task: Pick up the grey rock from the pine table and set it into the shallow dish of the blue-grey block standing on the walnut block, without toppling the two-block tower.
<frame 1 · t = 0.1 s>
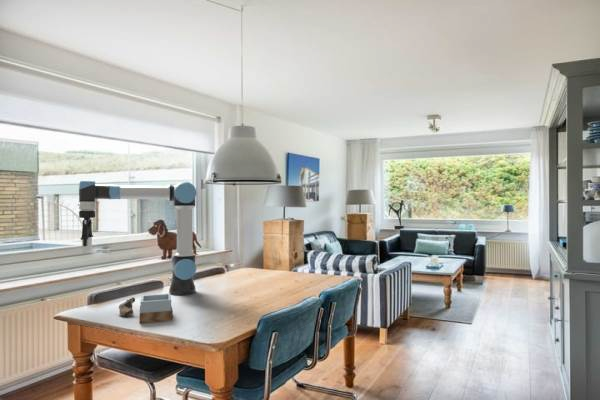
hand: (87, 251, 218), 28 cm above the table, fingers open, 13 cm apart
tower base: (155, 319, 193), on the table, touching tower top
tower top: (156, 308, 193), point 4 cm above the table, touching tower base
rock: (126, 315, 199), on the table
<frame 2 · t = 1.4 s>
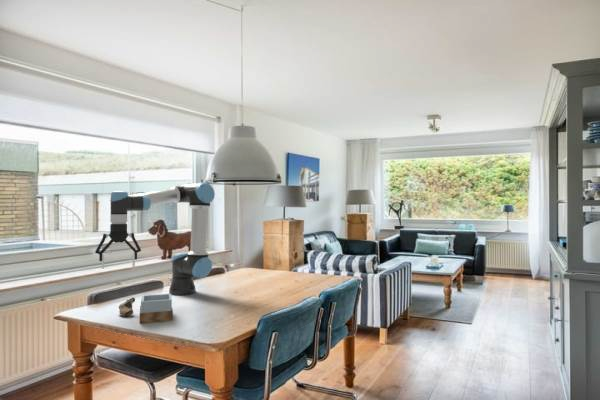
hand: (118, 267, 202), 22 cm above the table, fingers open, 13 cm apart
nothing on the table moved.
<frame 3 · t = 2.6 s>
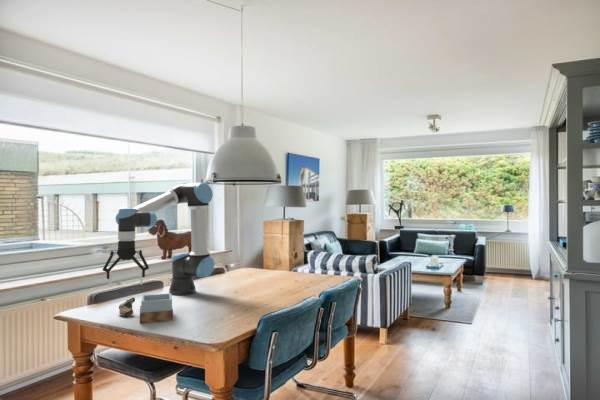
hand: (126, 285, 199), 14 cm above the table, fingers open, 13 cm apart
nothing on the table moved.
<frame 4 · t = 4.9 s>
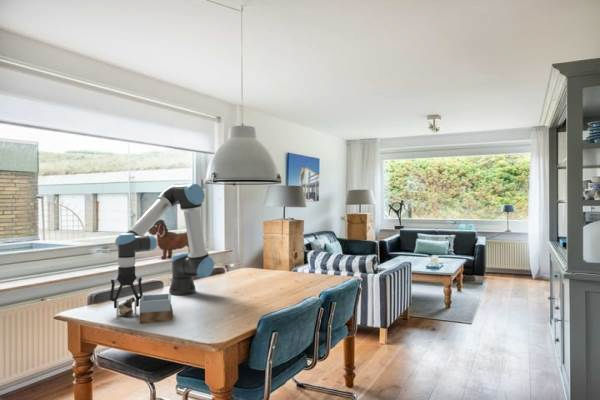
hand: (126, 314, 199), 0 cm above the table, fingers closed on rock, 7 cm apart
rock: (126, 315, 199), on the table, touching gripper
everything else where it was.
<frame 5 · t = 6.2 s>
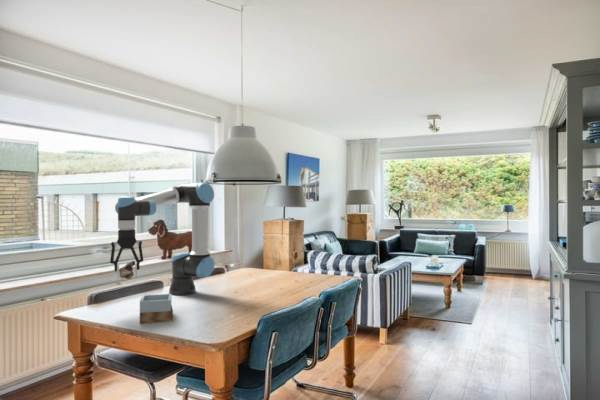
hand: (127, 277, 199), 18 cm above the table, fingers closed on rock, 7 cm apart
rock: (126, 278, 199), point 17 cm above the table, touching gripper
everything else where it was.
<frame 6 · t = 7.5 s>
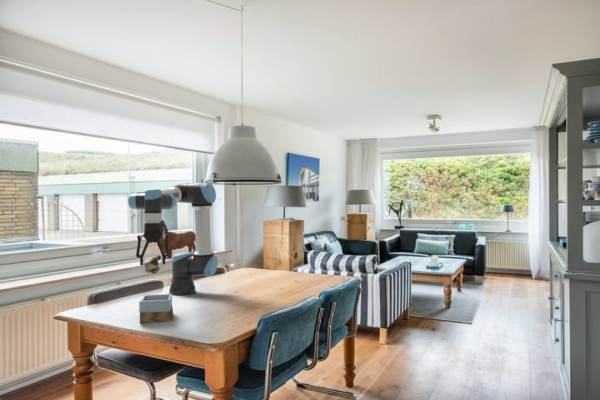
hand: (152, 271, 194), 21 cm above the table, fingers closed on rock, 7 cm apart
rock: (152, 273, 193), point 21 cm above the table, touching gripper
everything else where it was.
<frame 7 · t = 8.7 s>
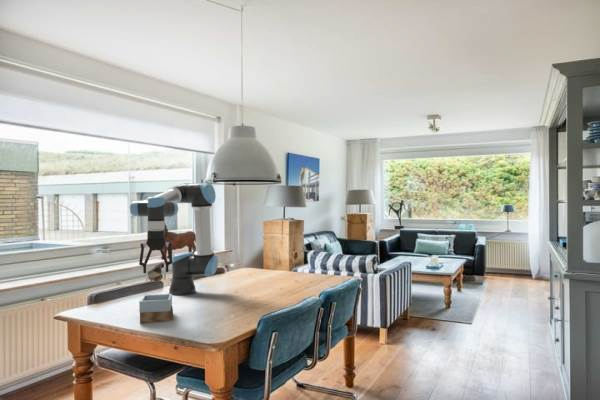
hand: (155, 279, 193), 18 cm above the table, fingers closed on rock, 7 cm apart
rock: (155, 280, 193), point 17 cm above the table, touching gripper
everything else where it was.
when the fingers open (9 cm above the table, at t = 11.2 s): rock drops 2 cm, resting on tower top.
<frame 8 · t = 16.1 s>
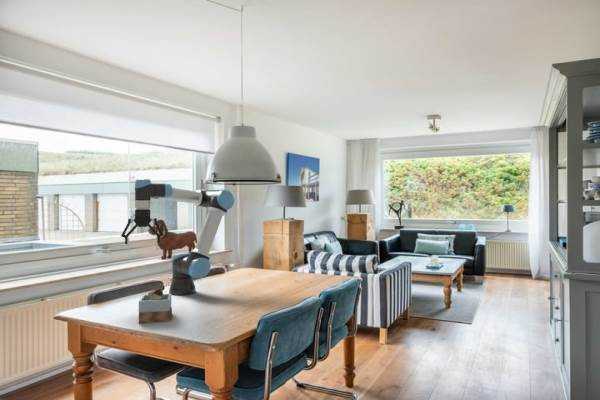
hand: (142, 250, 216), 29 cm above the table, fingers open, 13 cm apart
tower top: (155, 308, 193), point 5 cm above the table, touching rock, tower base
rock: (156, 303, 193), point 7 cm above the table, touching tower top
everything else where it was.
at the end: rock inside the target area on the tower base (0.6 cm from its centre), point 7.3 cm above the tower base's base; tower top moved 0.5 cm from its start; rock touching tower top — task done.
